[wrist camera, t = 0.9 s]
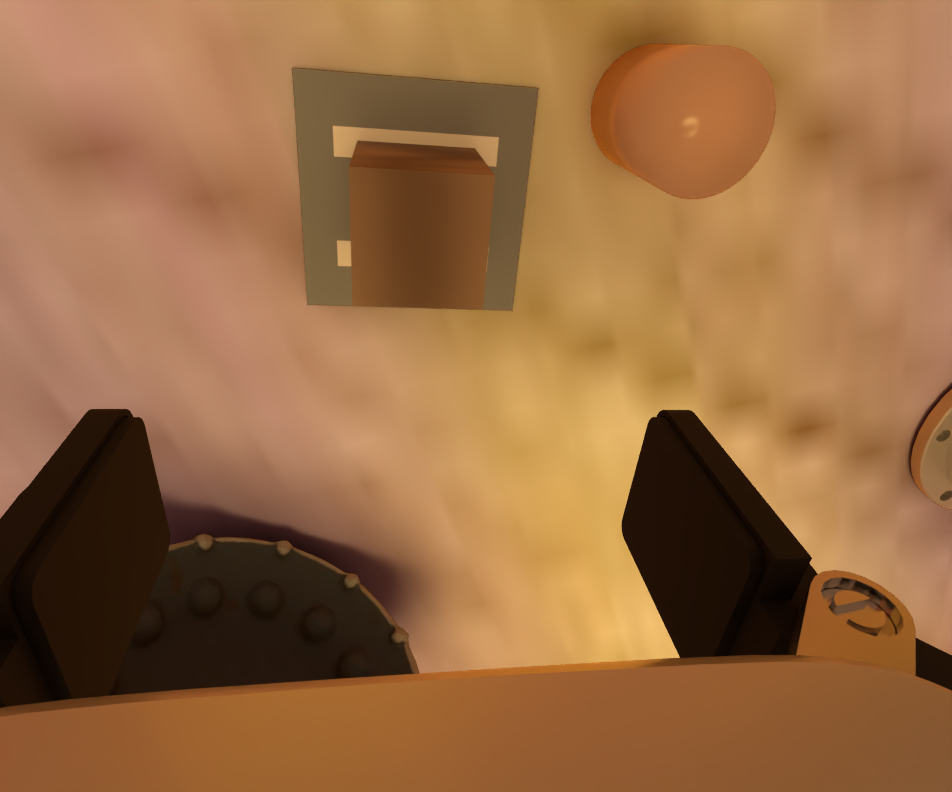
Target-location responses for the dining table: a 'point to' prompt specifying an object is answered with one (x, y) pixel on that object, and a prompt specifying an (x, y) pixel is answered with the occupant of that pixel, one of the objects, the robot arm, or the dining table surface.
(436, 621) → the dining table surface
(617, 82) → the terracotta cylinder
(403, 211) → the walnut block
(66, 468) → the robot arm
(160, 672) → the dark green studded bowl
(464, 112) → the letter tile
